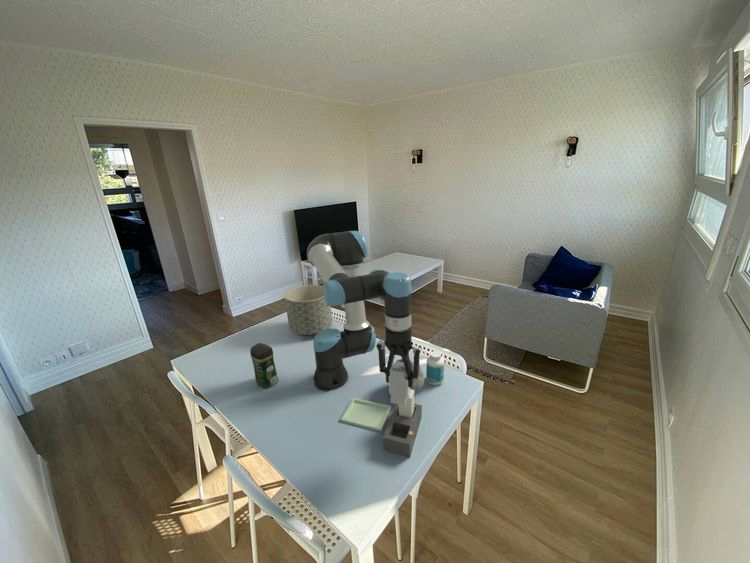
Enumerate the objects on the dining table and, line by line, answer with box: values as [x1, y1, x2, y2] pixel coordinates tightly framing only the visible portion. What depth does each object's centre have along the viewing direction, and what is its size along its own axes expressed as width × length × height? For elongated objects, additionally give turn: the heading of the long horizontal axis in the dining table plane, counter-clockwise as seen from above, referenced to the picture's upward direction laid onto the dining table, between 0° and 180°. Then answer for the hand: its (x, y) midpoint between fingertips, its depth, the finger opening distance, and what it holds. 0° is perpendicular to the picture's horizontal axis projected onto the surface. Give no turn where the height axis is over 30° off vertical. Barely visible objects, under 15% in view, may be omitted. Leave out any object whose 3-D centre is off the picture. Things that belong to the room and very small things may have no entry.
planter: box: [284, 284, 333, 336], centre depth 178 cm, size 25×25×24 cm
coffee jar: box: [249, 342, 279, 389], centre depth 134 cm, size 10×8×19 cm
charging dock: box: [382, 389, 423, 458], centre depth 105 cm, size 9×18×15 cm, turn 160°
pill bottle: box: [425, 350, 445, 386], centre depth 132 cm, size 8×7×14 cm
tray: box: [340, 397, 392, 433], centre depth 116 cm, size 16×12×2 cm
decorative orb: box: [395, 358, 425, 396], centre depth 125 cm, size 15×14×15 cm
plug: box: [390, 361, 408, 406], centre depth 95 cm, size 4×4×13 cm
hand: (399, 392), depth 96 cm, fingers closed on plug, 4 cm apart
